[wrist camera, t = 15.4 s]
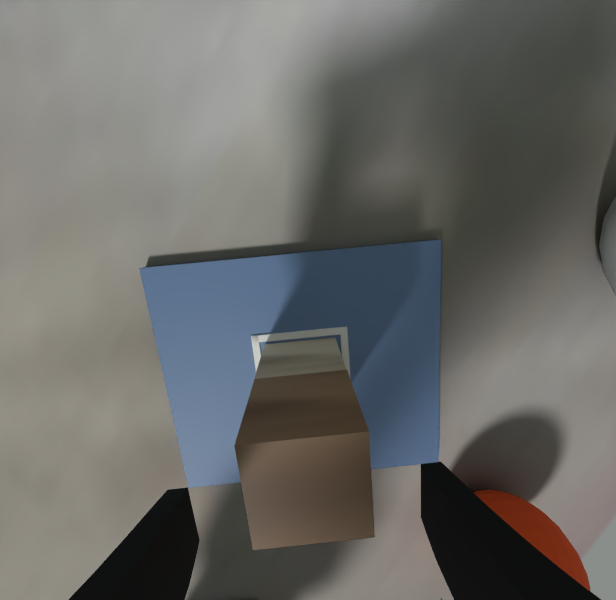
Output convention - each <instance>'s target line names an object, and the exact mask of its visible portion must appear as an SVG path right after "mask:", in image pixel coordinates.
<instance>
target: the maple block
mask: <svg viewBox="0 0 616 600" xmlns="http://www.w3.org/2000/svg"><path fill="white" fill-rule="evenodd" d="M338 370H346V367H345V364H344V361H343V358H342V356H341V353H340V350H339V347H338V344H337V341H336V338H335V337H334V338H324V339H314V340H304V341H293V342H283V343H273V344H265V345H264V348H263V352H262V355H261V358H260V361H259V365H258V368H257V371H256V374H255V378H254V379H259V378H269V377H279V376H289V375H299V374H308V373H318V372H328V371H338Z"/></svg>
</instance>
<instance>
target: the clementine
mask: <svg viewBox="0 0 616 600" xmlns="http://www.w3.org/2000/svg"><path fill="white" fill-rule="evenodd" d="M474 494H475V495H477V496H478V497H479V498H480V499H481V500H482V501H483V502H484V503H485V504H486V505H487V506H488V507H490V508H491V509H492V510H493V511H494V512H495V513H496V514H497V515H498V516H500V517H501V518H502V519H503V520H504V521H505V522H506V523H508V524H509V525H510V526H511V527H512V528H513V529H514V530H515V531H517V532H518V533H519V534H520V535H521V536H522V537H524V538H525V539H526V540H527V541H528V542H529V543H531V544H532V545H533V546H534V547H535V548H536V549H538V550H539V551H540V552H541V553H542V554H544V555H545V556H546V557H547V558H549V559H550V560H551V561H552V562H553V563H555V564H556V565H557V566H558V567H559V568H561V569H562V570H563V571H564V572H566V573H567V574H568V575H569V576H571V577H572V578H573V579H575V580H576V581H577V582H578V583H580V584H581V585H582V586H583V587H585V588H586V589H587V590H589V591H590V585H589V581H588V577H587V573H586V571H585V569H584V567H583V564H582V562H581V560H580V557H579V555H578V553H577V552H576V550H575V549H574V547H573V546H572V545H571V543H570V542H569V540H568V539H567V538H566V536H565V535H564V533H563V532H562V531H561V529H560V528H559V527H558V526H557V525H556V524H555V523H554V522H553V521H552V520H551V519H550V518H549V517H548V516H547V515H546V514H545V513H543V512H542V511H541V510H539V509H538V508H536V507H535V506H534V505H532V504H530V503H529V502H527V501H525V500H523V499H522V498H520V497H518V496H515V495H512V494H509V493H505V492H501V491H497V490H482V491H477V492H474ZM440 599H441V598H440ZM441 600H442V599H441Z"/></svg>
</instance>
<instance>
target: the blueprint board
mask: <svg viewBox="0 0 616 600" xmlns="http://www.w3.org/2000/svg"><path fill="white" fill-rule="evenodd" d="M139 269H140V274H141V278H142V283H143V287H144V291H145V296H146V300H147V305H148V309H149V314H150V318H151V323H152V327H153V332H154V336H155V340H156V345H157V349H158V354H159V358H160V363H161V367H162V372H163V376H164V381H165V385H166V389H167V394H168V398H169V403H170V407H171V412H172V416H173V421H174V425H175V430H176V434H177V438H178V443H179V447H180V452H181V456H182V461H183V465H184V470H185V474H186V479H187V483H188V487H189V488H191V487H201V486H211V485H220V484H230V483H240V482H241V480H240V475H239V469H238V463H237V458H236V452H235V446H234V445H235V442H236V438H237V435H238V432H239V428H240V425H241V422H242V419H243V415H244V412H245V409H246V405H247V402H248V399H249V396H250V392H251V389H252V386H253V382H254V378H255V374H256V371H257V368H258V365H259V361H260V358H261V355H262V352H263V348H264V345H265V344H273V343H283V342H293V341H304V340H314V339H324V338H334V337H335V338H336V341H337V344H338V347H339V350H340V353H341V356H342V358H343V361H344V364H345V367H346V370H347V371H348V374H349V377H350V380H351V382H352V385H353V388H354V391H355V394H356V396H357V399H358V402H359V405H360V408H361V411H362V413H363V416H364V419H365V422H366V425H367V427H368V430H369V442H370V461H371V469H377V468H387V467H397V466H407V465H416V464H424V463H434V462H438V456H439V382H440V307H441V240H426V241H415V242H405V243H394V244H384V245H373V246H362V247H352V248H341V249H331V250H320V251H310V252H299V253H288V254H278V255H267V256H257V257H246V258H235V259H225V260H214V261H204V262H193V263H182V264H172V265H161V266H151V267H143V268H139Z"/></svg>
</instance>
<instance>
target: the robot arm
mask: <svg viewBox="0 0 616 600" xmlns="http://www.w3.org/2000/svg"><path fill="white" fill-rule="evenodd" d="M421 518H422V521H423V524H424V527H425V530H426V533H427V536H428V539H429V541H430V544H431V547H432V550H433V552H434V555H435V558H436V560H437V563H438V565H439V567H440V569H441V572H442V574H443V576H444V578H445V580H446V583H447V585H448V587H449V589H450V591H451V594H452V596H453V598H454V600H601V599H599V598H598V597H597V596H595V595H594V594H593V593H591V592H590V591H589V590H587V589H586V588H585V587H583V586H582V585H581V584H580V583H578V582H577V581H576V580H575V579H573V578H572V577H571V576H569V575H568V574H567V573H566V572H564V571H563V570H562V569H561V568H559V567H558V566H557V565H556V564H555V563H553V562H552V561H551V560H550V559H549V558H547V557H546V556H545V555H544V554H542V553H541V552H540V551H539V550H538V549H536V548H535V547H534V546H533V545H532V544H531V543H529V542H528V541H527V540H526V539H525V538H524V537H522V536H521V535H520V534H519V533H518V532H517V531H515V530H514V529H513V528H512V527H511V526H510V525H509V524H508V523H506V522H505V521H504V520H503V519H502V518H501V517H500V516H498V515H497V514H496V513H495V512H494V511H493V510H492V509H491V508H490V507H488V506H487V505H486V504H485V503H484V502H483V501H482V500H481V499H480V498H479V497H478V496H477V495H475V494H474V493H473V492H472V491H471V490H470V489H469V488H468V487H467V486H466V485H465V484H464V483H463V482H462V481H461V480H460V479H458V478H457V477H456V476H455V475H454V474H453V473H452V472H451V471H450V470H449V469H448V468H447V467H446V466H445V465H444V464H442V463H441V462H434V463H424V464H421ZM198 545H199V536H198V532H197V527H196V523H195V519H194V514H193V510H192V505H191V501H190V496H189V492H188V488H180V489H171V490H167V491H166V492H165V493H164V495H163V496H162V497H161V498H160V499H159V500H158V501H157V502H156V504H155V505H154V506H153V507H152V508H151V509H150V510H149V512H148V513H147V514H146V515H145V516H144V517H143V518H142V520H141V521H140V522H139V523H138V524H137V525H136V526H135V528H134V529H133V530H132V531H131V532H130V533H129V534H128V536H127V537H126V538H125V539H124V540H123V541H122V542H121V543H120V545H119V546H118V547H117V548H116V549H115V550H114V551H113V552H112V553H111V555H110V556H109V557H108V558H107V559H106V560H105V561H104V562H103V563H102V565H101V566H100V567H99V568H98V569H97V570H96V571H95V572H94V573H93V574H92V575H91V577H90V578H89V579H88V580H87V581H86V582H85V583H84V584H83V585H82V586H81V587H80V588H79V589H78V590H77V591H76V592H75V593H74V594H73V595H72V597H71V598H70V599H69V600H184V599H185V596H186V593H187V590H188V587H189V583H190V579H191V575H192V571H193V567H194V563H195V558H196V554H197V549H198Z"/></svg>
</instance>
